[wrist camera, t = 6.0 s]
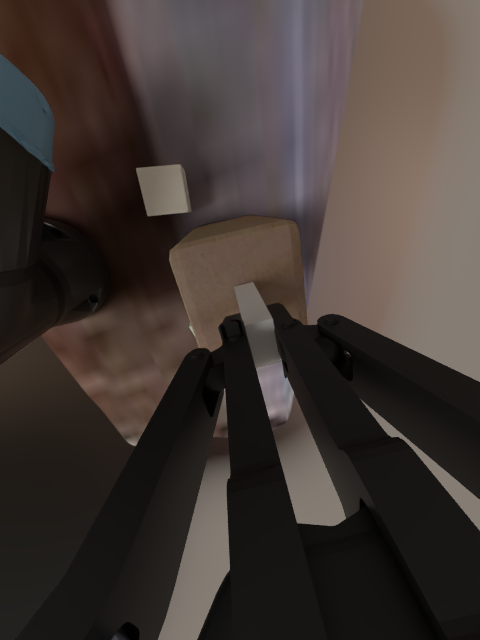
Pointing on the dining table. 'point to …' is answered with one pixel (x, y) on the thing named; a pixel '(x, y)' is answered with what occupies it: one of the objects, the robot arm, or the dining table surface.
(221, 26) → the dining table surface
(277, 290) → the wooden block
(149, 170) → the cream cube
